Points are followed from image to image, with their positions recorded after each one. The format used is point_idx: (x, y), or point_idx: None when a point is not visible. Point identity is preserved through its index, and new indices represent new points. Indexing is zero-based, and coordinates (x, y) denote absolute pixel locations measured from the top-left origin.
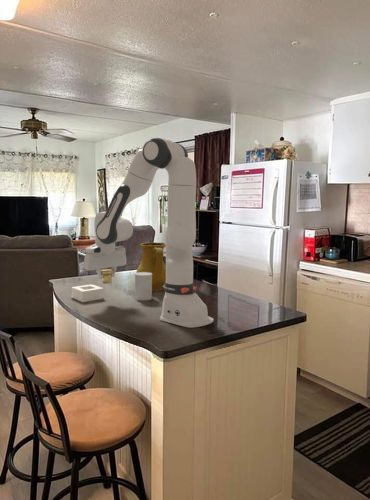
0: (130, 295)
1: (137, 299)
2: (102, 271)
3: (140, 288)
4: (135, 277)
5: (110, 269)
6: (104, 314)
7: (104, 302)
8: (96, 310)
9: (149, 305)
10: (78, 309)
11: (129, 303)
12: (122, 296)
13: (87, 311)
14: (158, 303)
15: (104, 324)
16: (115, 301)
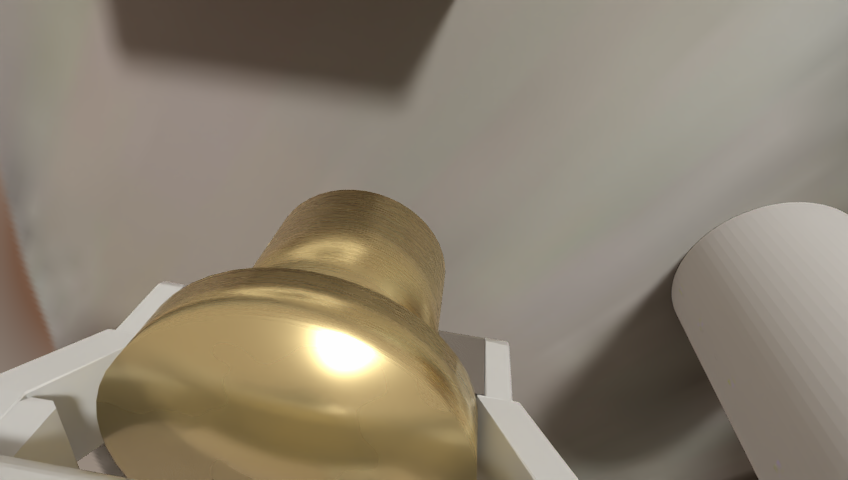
0: (832, 94)
1: (674, 285)
2: (137, 475)
3: (723, 404)
4: (827, 469)
5: (444, 466)
6: None
7: (364, 131)
8: (171, 279)
9: (573, 428)
10: (32, 158)
11: (516, 312)
12: (724, 60)
13: (94, 254)
14: (665, 438)
15: (114, 469)
16: (478, 181)
